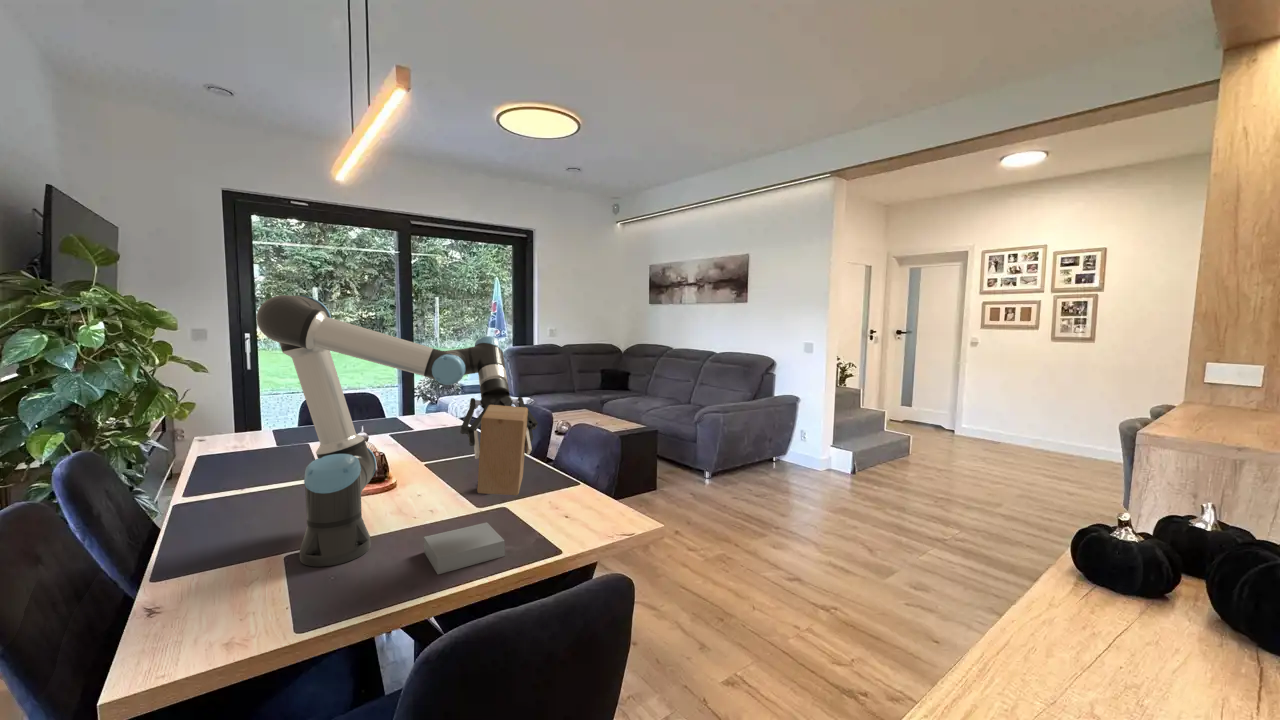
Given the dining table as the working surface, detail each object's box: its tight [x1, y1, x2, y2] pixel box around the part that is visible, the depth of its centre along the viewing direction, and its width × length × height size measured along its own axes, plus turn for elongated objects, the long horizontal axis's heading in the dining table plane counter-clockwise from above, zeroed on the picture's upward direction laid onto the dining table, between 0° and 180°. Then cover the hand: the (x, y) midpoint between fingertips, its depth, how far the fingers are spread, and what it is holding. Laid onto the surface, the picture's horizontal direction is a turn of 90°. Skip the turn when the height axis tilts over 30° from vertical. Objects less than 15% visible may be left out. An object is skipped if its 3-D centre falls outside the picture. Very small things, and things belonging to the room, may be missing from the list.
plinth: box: [423, 521, 506, 575], centre depth 126 cm, size 16×13×4 cm
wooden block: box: [476, 405, 529, 496], centre depth 127 cm, size 10×10×20 cm
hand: (504, 454), depth 127 cm, fingers closed on wooden block, 12 cm apart
